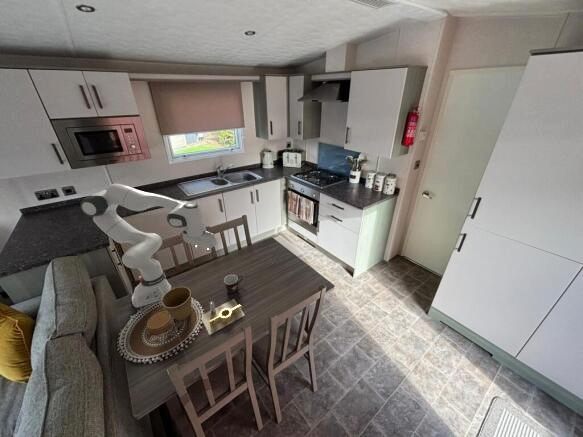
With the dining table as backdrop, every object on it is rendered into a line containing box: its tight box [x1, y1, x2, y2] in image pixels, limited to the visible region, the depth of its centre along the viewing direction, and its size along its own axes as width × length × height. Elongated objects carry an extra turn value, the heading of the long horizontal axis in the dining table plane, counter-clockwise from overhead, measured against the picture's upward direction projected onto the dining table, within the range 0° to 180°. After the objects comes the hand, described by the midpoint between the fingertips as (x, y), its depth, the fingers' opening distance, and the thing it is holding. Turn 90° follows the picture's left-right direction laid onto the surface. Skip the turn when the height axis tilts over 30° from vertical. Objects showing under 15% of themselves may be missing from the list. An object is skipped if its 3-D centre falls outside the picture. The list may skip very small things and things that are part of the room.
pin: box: [208, 300, 216, 315], centre depth 137 cm, size 3×3×8 cm
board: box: [200, 298, 245, 335], centre depth 138 cm, size 21×15×1 cm
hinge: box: [209, 304, 243, 328], centre depth 134 cm, size 18×6×5 cm, turn 127°
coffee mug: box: [223, 274, 243, 294], centre depth 153 cm, size 12×9×10 cm
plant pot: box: [161, 286, 192, 322], centre depth 134 cm, size 15×15×16 cm
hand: (202, 249), depth 140 cm, fingers open, 8 cm apart
